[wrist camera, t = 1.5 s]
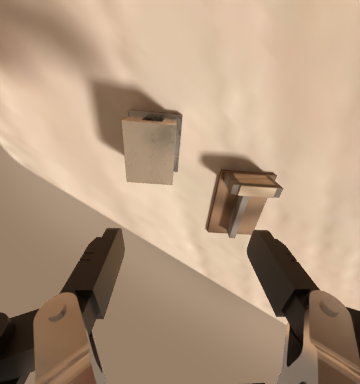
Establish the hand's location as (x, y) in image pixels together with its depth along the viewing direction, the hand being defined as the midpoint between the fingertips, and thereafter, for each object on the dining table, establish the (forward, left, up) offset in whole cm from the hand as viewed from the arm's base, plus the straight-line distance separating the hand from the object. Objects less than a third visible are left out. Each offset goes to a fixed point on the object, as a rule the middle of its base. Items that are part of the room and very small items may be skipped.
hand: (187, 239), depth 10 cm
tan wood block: (-1, -4, -16) cm, 17 cm away
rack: (+9, +11, -17) cm, 22 cm away
